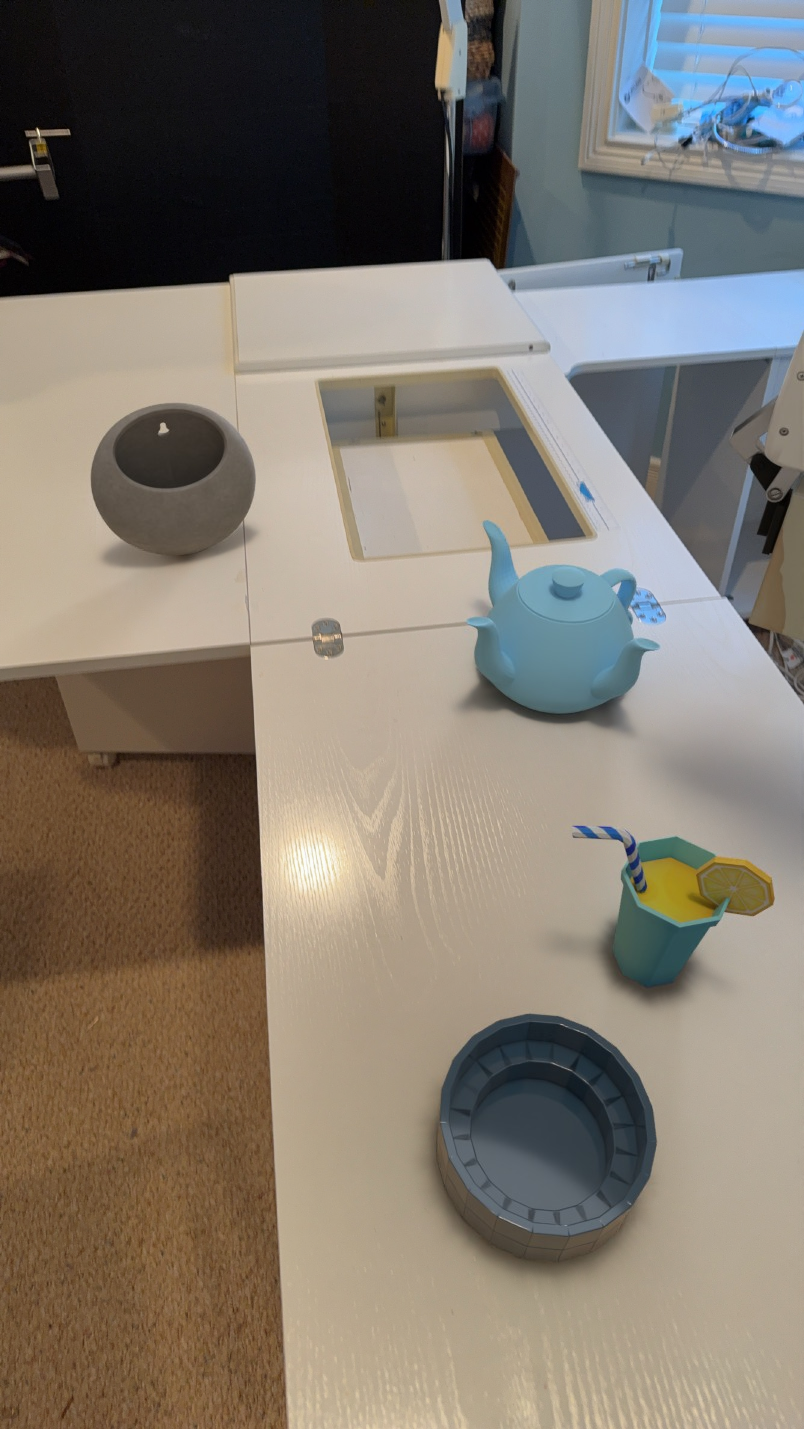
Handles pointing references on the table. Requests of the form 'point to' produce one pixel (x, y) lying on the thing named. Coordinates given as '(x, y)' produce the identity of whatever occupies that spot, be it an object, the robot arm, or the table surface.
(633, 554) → the table surface
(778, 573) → the box
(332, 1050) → the table surface
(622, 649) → the teapot
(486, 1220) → the round ribbed tray
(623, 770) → the table surface
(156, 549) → the planter
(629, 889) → the cup
